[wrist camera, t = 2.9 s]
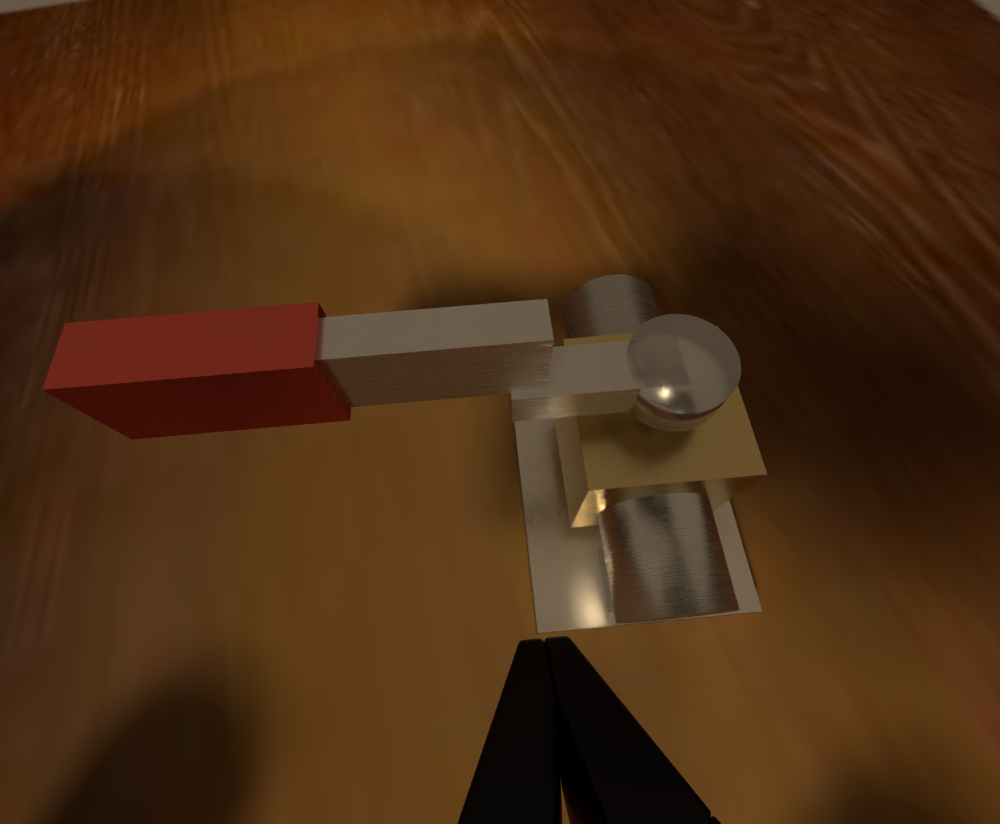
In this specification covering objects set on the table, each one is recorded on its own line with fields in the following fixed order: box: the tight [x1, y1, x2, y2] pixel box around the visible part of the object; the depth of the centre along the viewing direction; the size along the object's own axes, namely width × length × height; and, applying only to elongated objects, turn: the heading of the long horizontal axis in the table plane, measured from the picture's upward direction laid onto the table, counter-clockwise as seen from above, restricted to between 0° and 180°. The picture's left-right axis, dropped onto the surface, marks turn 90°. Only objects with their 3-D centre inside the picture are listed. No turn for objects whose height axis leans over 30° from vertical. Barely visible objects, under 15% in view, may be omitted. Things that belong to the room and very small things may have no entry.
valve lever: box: [42, 299, 741, 439], centre depth 14 cm, size 3×17×4 cm, turn 95°
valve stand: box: [513, 274, 767, 634], centre depth 20 cm, size 13×9×9 cm
